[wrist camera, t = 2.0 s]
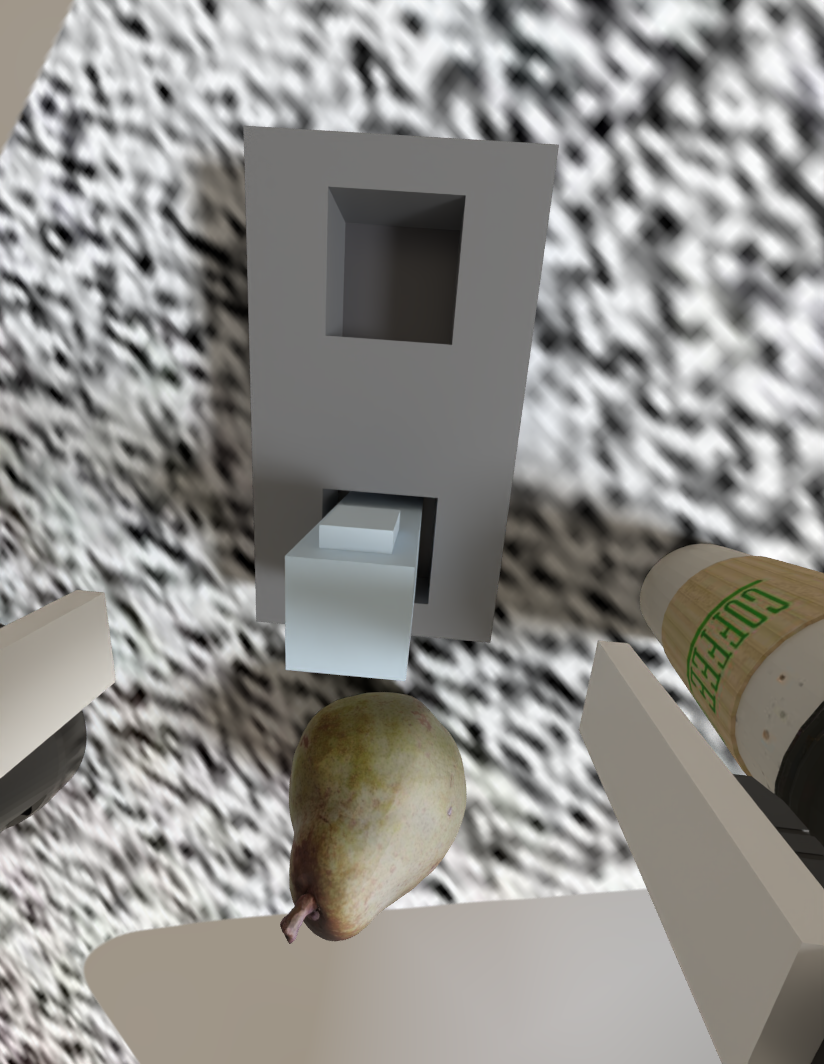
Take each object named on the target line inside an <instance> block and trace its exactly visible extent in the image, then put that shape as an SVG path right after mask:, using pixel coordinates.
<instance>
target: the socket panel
mask: <svg viewBox="0 0 824 1064" xmlns="http://www.w3.org/2000/svg"><path fill="white" fill-rule="evenodd" d="M558 148H559V145H554V144H537V143H521V142H504V141H487V140H471V139H454V138H438V137H421V136H405V135H388V134H372V133H355V132H338V131H322V130H305V129H289V128H272V127H256V126H244V160H245V199H246V237H247V276H248V314H249V353H250V391H251V429H252V468H253V506H254V545H255V583H256V621H258V622H269V623H280V624H285V555H286V554H287V553H288V552H289V551H290V550H291V549H293V548H294V547H295V546H296V545H297V544H298V543H299V542H300V541H301V540H302V539H303V538H304V537H305V536H306V535H307V534H308V533H309V532H310V531H311V530H312V529H313V528H314V527H315V526H316V525H317V524H318V523H319V522H320V521H321V520H322V519H323V518H324V517H325V516H326V515H327V514H328V513H329V512H330V511H331V510H332V509H333V508H334V507H335V506H336V505H337V504H338V503H339V502H340V501H341V500H342V499H343V498H344V497H345V496H346V495H347V494H348V493H349V492H350V491H358V492H370V493H382V494H395V495H407V496H419V497H423V509H422V521H421V533H420V545H419V558H418V569H417V578H416V588H415V597H414V607H413V617H412V626H411V635H412V636H422V637H433V638H444V639H455V640H466V641H477V642H488V643H490V640H491V633H492V626H493V619H494V611H495V604H496V597H497V590H498V582H499V575H500V568H501V561H502V553H503V546H504V539H505V532H506V524H507V517H508V510H509V503H510V495H511V488H512V481H513V474H514V466H515V459H516V452H517V445H518V437H519V430H520V423H521V416H522V408H523V401H524V394H525V387H526V379H527V372H528V365H529V358H530V351H531V343H532V336H533V329H534V322H535V314H536V307H537V300H538V293H539V285H540V278H541V271H542V264H543V256H544V249H545V242H546V235H547V227H548V220H549V213H550V206H551V198H552V191H553V184H554V177H555V169H556V162H557V155H558Z"/></svg>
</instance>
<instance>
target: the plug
mask: <svg viewBox="0 0 824 1064" xmlns="http://www.w3.org/2000/svg"><path fill="white" fill-rule="evenodd" d="M422 509H423V497H419V496H407V495H395V494H382V493H370V492H358V491H350V492H349V493H348V494H347V495H346V496H345V497H344V498H343V499H342V500H341V501H340V502H339V503H338V504H337V505H336V506H335V507H334V508H333V509H332V510H331V511H330V512H329V513H328V514H327V515H326V516H325V517H324V518H323V519H322V520H321V521H320V522H319V523H318V524H317V525H316V526H315V527H314V528H313V529H312V530H311V531H310V532H309V533H308V534H307V535H306V536H305V537H304V538H303V539H302V540H301V541H300V542H299V543H298V544H297V545H296V546H295V547H294V548H293V549H291V550H290V551H289V552H288V553H287V554H286V555H285V648H286V670H293V671H303V672H314V673H325V674H335V675H346V676H357V677H367V678H378V679H389V680H399V681H406V674H407V664H408V655H409V645H410V636H411V626H412V617H413V607H414V597H415V588H416V578H417V569H418V558H419V545H420V533H421V521H422Z"/></svg>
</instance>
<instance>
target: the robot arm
mask: <svg viewBox="0 0 824 1064" xmlns="http://www.w3.org/2000/svg"><path fill="white" fill-rule="evenodd" d="M114 682H116V678H115V670H114V662H113V655H112V647H111V639H110V632H109V624H108V616H107V608H106V601H105V593H103V592H92V591H82V590H76V591H74V592H72V593H70V594H68V595H66V596H64V597H62V598H60V599H58V600H56V601H54V602H52V603H50V604H48V605H46V606H44V607H42V608H40V609H38V610H36V611H34V612H32V613H30V614H28V615H26V616H24V617H22V618H20V619H18V620H16V621H14V622H12V623H10V624H8V625H6V626H4V627H2V626H0V833H1V832H2V831H3V830H5V829H6V828H8V827H11V826H14V825H16V824H18V823H20V822H22V821H23V820H25V819H27V818H28V817H30V816H31V815H33V814H34V813H36V812H37V811H38V810H39V809H41V808H42V807H43V806H44V805H45V804H46V803H47V802H48V801H49V800H50V799H51V798H52V797H53V796H54V795H55V794H56V793H57V792H58V791H59V790H60V789H61V788H62V787H63V786H64V785H65V784H66V783H67V782H68V781H69V780H70V779H71V778H72V777H73V775H74V774H75V773H76V771H77V770H78V768H79V766H80V764H81V762H82V759H83V756H84V753H85V747H86V725H85V720H84V715H83V712H82V709H84V708H85V707H86V706H87V705H88V704H89V703H91V702H92V701H93V700H94V699H95V698H97V697H98V696H99V695H100V694H101V693H103V692H104V691H105V690H106V689H107V688H108V687H110V686H111V685H112V684H113V683H114ZM579 731H580V734H581V736H582V738H583V741H584V743H585V745H586V748H587V750H588V752H589V755H590V757H591V759H592V762H593V764H594V766H595V769H596V771H597V773H598V776H599V778H600V780H601V783H602V785H603V787H604V790H605V792H606V794H607V797H608V799H609V801H610V804H611V806H612V808H613V811H614V813H615V815H616V818H617V820H618V822H619V825H620V827H621V829H622V832H623V834H624V836H625V839H626V841H627V843H628V846H629V848H630V850H631V853H632V855H633V857H634V860H635V862H636V864H637V867H638V869H639V871H640V874H641V876H642V878H643V881H644V883H645V885H646V888H647V890H648V892H649V894H650V897H651V899H652V902H653V904H654V906H655V909H656V911H657V913H658V916H659V918H660V920H661V923H662V925H663V927H664V929H665V931H666V934H667V937H668V939H669V941H670V943H671V946H672V948H673V951H674V953H675V955H676V958H677V960H678V962H679V965H680V967H681V969H682V971H683V974H684V976H685V979H686V981H687V983H688V986H689V988H690V990H691V992H692V995H693V997H694V999H695V1002H696V1004H697V1006H698V1009H699V1011H700V1013H701V1016H702V1018H703V1020H704V1023H705V1025H706V1027H707V1030H708V1032H709V1034H710V1037H711V1039H712V1041H713V1044H714V1046H715V1048H716V1051H717V1053H718V1055H719V1058H720V1060H721V1062H722V1064H824V847H823V846H822V844H821V843H820V842H819V841H818V840H817V839H816V838H815V836H811V835H810V833H809V830H808V828H807V827H806V826H805V825H804V824H803V823H802V822H801V820H800V819H799V818H798V817H797V816H796V815H795V813H794V812H793V811H792V810H791V809H790V808H789V807H788V805H787V804H786V803H785V802H784V801H783V800H782V799H780V798H779V797H778V796H776V795H775V794H774V793H773V792H771V791H770V790H769V789H767V788H766V787H765V786H764V785H762V784H761V783H760V782H758V781H757V780H756V779H755V778H753V777H752V776H745V775H736V774H732V773H731V772H730V771H729V769H728V768H727V767H726V766H725V764H724V763H723V762H722V761H721V759H720V758H719V757H718V756H717V754H716V753H715V752H714V750H713V749H712V748H711V747H710V745H709V744H708V743H707V742H706V740H705V739H704V738H703V737H702V735H701V734H700V733H699V732H698V730H697V729H696V728H695V727H694V725H693V724H692V723H691V722H690V720H689V719H688V718H687V717H686V715H685V714H684V713H683V712H682V710H681V709H680V708H679V707H678V705H677V704H676V703H675V701H674V700H673V699H672V698H671V696H670V695H669V694H668V693H667V691H666V690H665V689H664V688H663V686H662V685H661V684H660V683H659V681H658V680H657V679H656V678H655V676H654V675H653V674H652V673H651V671H650V670H649V669H648V668H647V666H646V665H645V664H644V663H643V661H642V660H641V659H640V658H639V656H638V655H637V654H636V653H635V651H634V650H633V649H632V647H631V646H630V645H629V644H628V643H618V642H608V641H598V643H597V648H596V653H595V657H594V662H593V667H592V671H591V676H590V681H589V685H588V690H587V695H586V699H585V704H584V709H583V713H582V718H581V723H580V727H579Z"/></svg>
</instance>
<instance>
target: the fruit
mask: <svg viewBox="0 0 824 1064" xmlns="http://www.w3.org/2000/svg"><path fill="white" fill-rule="evenodd" d="M465 806H466V781H465V775H464V768H463V763H462V758H461V755H460V753H459V750H458V748H457V745H456V743H455V741H454V739H453V738H452V736H451V735H450V733H449V732H448V731H447V730H446V728H445V727H444V726H443V725H442V724H441V723H440V722H439V721H438V720H437V719H436V717H435V716H434V715H433V714H432V713H431V712H430V710H429V709H428V708H427V707H426V706H425V705H424V704H422V703H421V702H420V701H419V700H417V699H415V698H414V697H412V696H408V695H404V694H399V693H392V692H371V693H363V694H359V695H356V696H351V697H346V698H343V699H339V700H336V701H334V702H333V703H331V704H329V705H327V706H326V707H324V708H323V709H321V710H320V711H319V712H318V713H317V714H316V715H315V716H314V717H313V718H312V719H311V721H310V722H309V723H308V725H307V727H306V728H305V730H304V732H303V734H302V736H301V739H300V741H299V743H298V746H297V748H296V751H295V754H294V758H293V763H292V771H291V776H290V786H289V808H290V817H291V822H292V826H293V830H294V839H293V845H292V849H291V855H290V870H289V877H290V892H291V896H292V899H293V903H294V905H295V907H294V908H293V909H292V910H291V912H290V913H289V914H288V915H287V916H285V917H284V918H283V920H282V921H281V924H280V926H281V929H282V932H283V933H284V934H285V937H286V939H287V941H288V942H289V944H291V943H292V942H293V941H294V940H295V939H296V936H297V932H298V930H299V927H300V926H301V924H302V922H303V921H304V923H305V924H306V925H307V927H308V928H309V929H310V930H311V931H312V932H313V933H314V934H316V935H317V936H319V937H321V938H323V939H325V940H329V941H340V940H346V939H348V938H351V937H353V936H355V935H357V934H358V933H359V932H360V931H362V930H363V929H364V928H365V927H366V926H367V925H368V924H369V923H370V922H371V921H372V920H373V919H374V918H375V917H376V916H377V915H378V914H379V913H380V912H381V911H382V910H384V909H385V908H386V907H388V906H389V905H391V904H392V903H394V902H395V901H397V900H398V899H399V898H401V897H402V896H404V895H405V894H406V893H408V892H409V891H411V890H412V889H413V888H414V887H416V886H417V885H418V884H419V883H420V882H421V881H422V880H423V879H424V878H425V877H426V876H428V875H429V874H430V873H431V872H432V871H433V870H434V869H435V868H436V867H437V865H438V864H439V863H440V862H441V860H442V859H443V858H444V856H445V855H446V853H447V851H448V850H449V848H450V846H451V845H452V843H453V841H454V840H455V837H456V835H457V833H458V831H459V828H460V825H461V822H462V819H463V816H464V812H465Z"/></svg>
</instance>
